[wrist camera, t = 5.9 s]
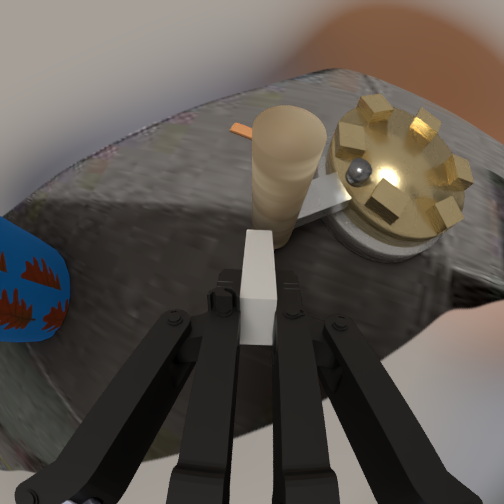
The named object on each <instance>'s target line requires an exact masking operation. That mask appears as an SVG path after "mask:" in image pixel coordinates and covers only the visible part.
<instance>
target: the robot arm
mask: <svg viewBox="0 0 504 504" xmlns="http://www.w3.org/2000/svg"><path fill="white" fill-rule="evenodd" d="M207 300H208V311H207V312H206V313H204V314H201V315H197V316H191V317H190V315H189V314H188V313H187V312H185V311H183V310H178V309H175V310H169V311H167V312H165V313H164V314H162V315H161V316H160V318H159V319H158V320H157V322H156V323H155V324H154V326H153V327H152V328H151V329H150V331H149V332H148V333H147V335H146V336H145V337H144V339H143V340H142V341H141V342H140V344H139V345H138V346H137V348H136V349H135V350H134V352H133V353H132V354H131V356H130V357H129V358H128V360H127V361H126V362H125V364H124V365H123V366H122V368H121V369H120V370H119V372H118V373H117V374H116V376H115V377H114V379H113V380H112V381H111V383H110V384H109V385H108V387H107V388H106V389H105V391H104V392H103V394H102V395H101V396H100V398H99V399H98V400H97V402H96V403H95V405H94V406H93V407H92V409H91V410H90V412H89V413H88V414H87V416H86V417H85V419H84V420H83V422H82V423H81V424H80V426H79V427H78V429H77V430H76V432H75V433H74V434H73V436H72V437H71V439H70V440H69V442H68V443H67V445H66V446H65V448H64V449H63V450H62V452H61V453H60V455H59V456H58V458H57V459H56V460H55V461H54V462H53V463H51V464H50V465H48V466H47V467H45V468H44V469H42V470H41V471H39V472H38V473H36V474H34V475H33V476H31V477H30V478H29V479H27V480H25V481H24V482H22V483H20V484H19V486H18V487H17V488H16V491H15V501H16V504H117V503H118V501H119V500H120V499H121V497H122V496H123V494H124V493H125V491H126V489H127V488H128V486H129V484H130V482H131V480H132V479H133V477H134V475H135V473H136V471H137V470H138V468H139V466H140V464H141V462H142V461H143V459H144V457H145V455H146V453H147V451H148V450H149V448H150V446H151V444H152V442H153V441H154V439H155V437H156V435H157V433H158V432H159V430H160V428H161V426H162V424H163V422H164V421H165V419H166V417H167V415H168V413H169V412H170V410H171V408H172V406H173V404H174V403H175V401H176V399H177V397H178V395H179V393H180V392H181V390H182V388H183V386H184V384H185V382H186V381H187V379H188V377H189V375H190V373H191V372H192V370H193V368H194V366H195V364H196V361H197V365H196V370H195V375H194V380H193V385H192V390H191V395H190V400H189V405H188V410H187V415H186V421H185V426H184V431H183V437H182V442H181V448H180V454H179V459H178V463H177V465H176V466H175V467H174V468H173V470H172V473H171V477H170V482H169V488H168V494H167V500H166V504H229V500H230V499H229V498H230V474H231V461H232V447H233V434H234V420H235V407H236V393H237V380H238V367H239V354H240V344H250V345H272V342H273V348H272V356H271V364H272V392H273V495H272V504H340V499H339V489H338V481H337V476H336V474H335V472H334V471H333V470H332V469H331V467H330V462H329V453H328V445H327V437H326V429H325V421H324V414H323V407H322V400H321V393H320V386H319V379H318V376H319V378H320V380H321V382H322V384H323V386H324V389H325V391H326V393H327V395H328V397H329V399H330V401H331V403H332V406H333V408H334V410H335V412H336V414H337V416H338V419H339V421H340V423H341V425H342V427H343V429H344V431H345V434H346V436H347V438H348V440H349V442H350V445H351V447H352V449H353V451H354V453H355V455H356V457H357V460H358V462H359V464H360V466H361V468H362V471H363V473H364V475H365V477H366V479H367V482H368V484H369V486H370V488H371V490H372V493H373V495H374V497H375V499H376V501H377V502H378V504H483V502H482V500H481V499H480V498H479V496H477V495H476V494H475V493H473V492H472V491H471V490H470V489H469V488H467V487H466V486H465V485H463V484H462V483H461V482H460V481H458V480H457V479H456V478H455V477H454V476H452V475H451V474H450V473H449V472H447V470H446V468H445V467H444V465H443V463H442V462H441V460H440V458H439V456H438V454H437V453H436V451H435V449H434V447H433V446H432V444H431V442H430V441H429V439H428V437H427V435H426V434H425V432H424V430H423V429H422V427H421V425H420V424H419V422H418V420H417V419H416V417H415V416H414V414H413V412H412V411H411V409H410V408H409V406H408V404H407V403H406V401H405V399H404V398H403V396H402V395H401V393H400V392H399V390H398V388H397V387H396V385H395V384H394V382H393V380H392V379H391V377H390V376H389V374H388V373H387V371H386V370H385V368H384V367H383V365H382V363H381V362H380V360H379V359H378V357H377V356H376V354H375V353H374V351H373V350H372V348H371V347H370V345H369V344H368V342H367V341H366V339H365V338H364V336H363V335H362V334H361V332H360V331H359V329H358V328H357V326H356V325H355V323H354V322H353V321H352V320H351V319H350V318H348V317H346V316H343V315H332V316H329V317H328V318H327V319H326V321H323V320H319V319H315V318H313V317H311V316H309V315H308V314H307V312H306V310H305V309H304V308H303V305H302V299H301V294H300V289H299V284H298V278H297V276H296V275H295V274H294V272H293V271H276V270H275V263H274V250H273V237H272V231H270V230H247V233H246V242H245V252H244V261H243V270H234V269H224V270H223V271H222V272H221V273H220V274H219V278H218V282H217V287H216V288H213V289H212V290H211V291H209V293H208V294H207Z"/></svg>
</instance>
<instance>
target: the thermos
mask: <svg viewBox="0 0 504 504" xmlns="http://www.w3.org/2000/svg"><path fill="white" fill-rule="evenodd" d="M70 294H71V293H70V277H69V273H68V270H67V267H66V264H65V261H64V259H63V258H62V257H61V255H60V254H59V253H58V251H57V250H56V249H54V248H52V247H51V246H49V245H48V244H46V243H45V242H43V241H42V240H40V239H39V238H37V237H35V236H34V235H32V234H30V233H28V232H27V231H25V230H23V229H21V228H19V227H18V226H16V225H14V224H13V223H11V222H9V221H8V220H6V219H4V218H2V217H1V216H0V341H4V342H36V341H42V340H45V339H47V338H50V337H52V336H53V334H54V333H55V332H56V331H57V330H58V329H59V328H60V327H61V325H62V323H63V320H64V318H65V316H66V314H67V311H68V305H69V299H70Z"/></svg>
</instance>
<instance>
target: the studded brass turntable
mask: <svg viewBox="0 0 504 504" xmlns="http://www.w3.org/2000/svg"><path fill="white" fill-rule="evenodd" d="M441 123H442V122H441V121H439V120H438V119H437V118H435V117H434V116H433V115H432V114H430V113H429V112H428V111H426V110H425V109H424V108H422V107H421V108H420V110H419V111H418V113H417V114H416V116H413V115H411V114H409V113H407V112H405V111H403V110H400V109H397V108H394V107H392V106H391V105H390V104H389V103H388V101H387V100H386V99H385V98H384V97H383V96H382V94H375V95H367V96H361V97H360V100H359V102H358V104H357V107H356V108H355V109H353V110H351V111H349V112H348V113H347V114H345V115H344V116H343V117H342V119H341V120H340V121H339V122H338V125H337V127H336V130H335V132H334V135H333V137H332V140H331V143H330V145H329V148H328V151H327V155H326V161H325V170H326V175H325V176H322V177H319V178H316V179H313V176H314V174H315V171H316V168H317V165H318V163H319V160H320V157H321V155H322V152H323V149H324V146H325V144H326V139H327V135H326V130H325V127H324V125H323V124H322V122H321V121H320V120H319V119H318V118H317V117H316V116H315V115H314V114H312V113H311V112H309V111H307V110H305V109H302V108H299V107H296V106H288V105H282V106H275V107H271V108H269V109H266V110H265V111H263V112H262V113H260V114H259V115H258V116H257V118H256V119H255V121H254V123H253V127H252V230H270V231H272V237H273V249H278V248H281V247H282V246H284V245H285V244H286V243H287V242H288V240H289V238H290V236H291V234H292V231H293V229H294V228H296V227H299V226H301V225H304V224H307V223H309V222H312V221H314V220H317V219H319V218H322V217H325V216H327V215H330V214H332V213H335V212H338V211H340V210H342V211H343V212H344V214H345V215H346V216H347V217H348V218H349V219H350V221H351V222H352V223H353V224H354V225H356V226H357V227H358V228H359V229H360V230H361V231H363V232H364V233H366V234H367V235H369V236H370V237H372V238H374V239H376V240H378V241H380V242H382V243H385V244H387V245H391V246H395V247H404V248H408V247H416V246H420V245H423V244H425V243H427V242H429V241H431V240H432V239H434V238H436V237H437V236H439V235H440V234H442V233H444V232H445V231H447V230H448V229H450V228H451V227H452V226H453V225H455V224H456V223H458V222H459V221H461V220H463V219H464V216H463V214H462V213H461V212H462V210H463V205H464V197H465V193H464V190H466V189H467V188H468V187H470V186H471V185H472V184H473V183H474V182H473V178H472V174H471V170H470V166H469V162H468V160H466V159H464V158H461V157H459V156H456V155H453V154H452V152H451V151H450V149H449V148H448V146H447V145H446V144H445V142H444V141H443V140H442V139H441V138H440V136H439V135H438V134H437V133H438V131H439V128H440V125H441ZM312 179H313V180H312Z"/></svg>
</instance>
